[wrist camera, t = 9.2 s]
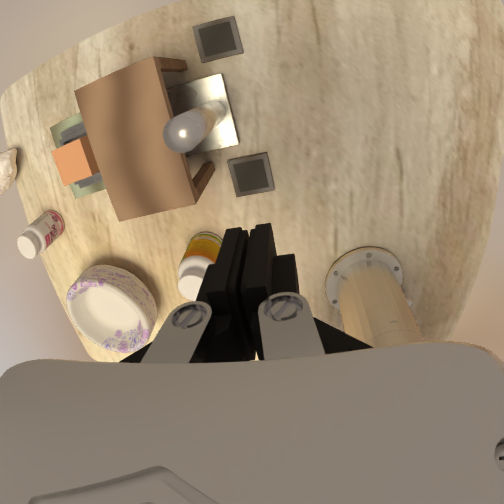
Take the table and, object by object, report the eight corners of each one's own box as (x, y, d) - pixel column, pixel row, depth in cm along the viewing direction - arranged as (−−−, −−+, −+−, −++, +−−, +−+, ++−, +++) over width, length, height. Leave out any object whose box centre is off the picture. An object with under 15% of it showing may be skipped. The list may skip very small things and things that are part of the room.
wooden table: (234, 16, 30) (218, -5, 20) (274, 188, 41) (274, 227, 32) (41, 95, 35) (-11, 109, 25) (89, 229, 46) (52, 268, 36)
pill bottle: (69, 231, 46) (42, 258, 39) (51, 237, 47) (24, 263, 40) (57, 206, 44) (27, 230, 37) (39, 213, 45) (10, 237, 38)
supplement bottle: (188, 230, 45) (169, 268, 37) (225, 232, 45) (214, 272, 37) (190, 261, 48) (174, 303, 40) (225, 264, 48) (215, 307, 39)
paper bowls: (105, 236, 47) (81, 264, 40) (179, 292, 51) (167, 326, 45) (74, 288, 53) (54, 316, 46) (138, 334, 58) (125, 365, 51)
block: (98, 130, 36) (79, 138, 32) (110, 163, 39) (92, 175, 35) (71, 141, 37) (51, 151, 33) (82, 173, 40) (64, 186, 35)
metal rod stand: (222, 73, 33) (191, 73, 20) (239, 142, 38) (220, 181, 25) (63, 131, 37) (-8, 164, 24) (83, 186, 42) (21, 235, 29)
